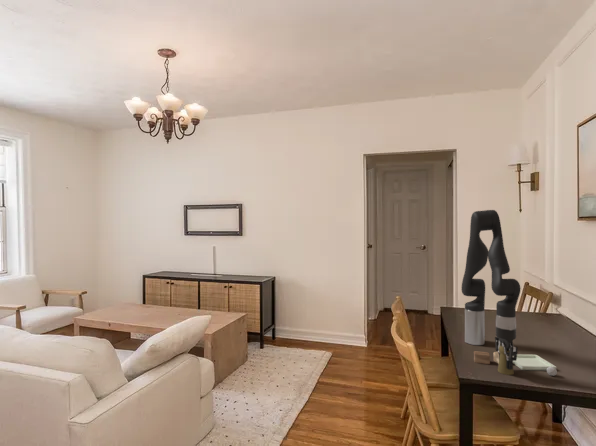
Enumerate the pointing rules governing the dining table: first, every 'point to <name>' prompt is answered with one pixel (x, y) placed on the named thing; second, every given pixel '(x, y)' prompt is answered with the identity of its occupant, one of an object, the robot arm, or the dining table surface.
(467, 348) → the dining table surface
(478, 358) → the walnut block
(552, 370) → the grey ball
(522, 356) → the tray
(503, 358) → the cork
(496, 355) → the maple block
